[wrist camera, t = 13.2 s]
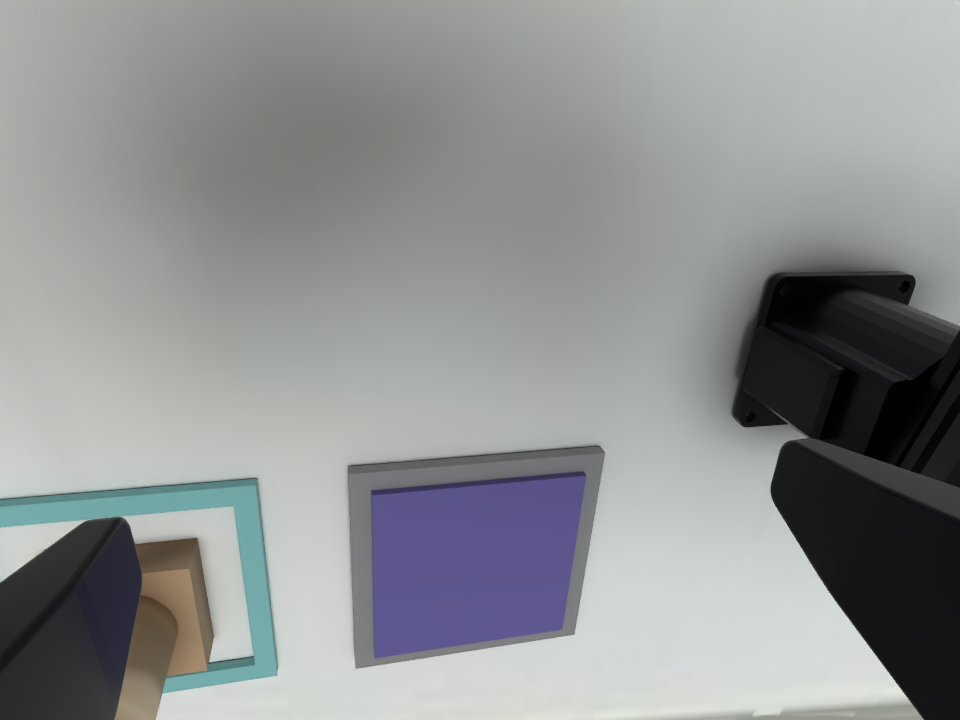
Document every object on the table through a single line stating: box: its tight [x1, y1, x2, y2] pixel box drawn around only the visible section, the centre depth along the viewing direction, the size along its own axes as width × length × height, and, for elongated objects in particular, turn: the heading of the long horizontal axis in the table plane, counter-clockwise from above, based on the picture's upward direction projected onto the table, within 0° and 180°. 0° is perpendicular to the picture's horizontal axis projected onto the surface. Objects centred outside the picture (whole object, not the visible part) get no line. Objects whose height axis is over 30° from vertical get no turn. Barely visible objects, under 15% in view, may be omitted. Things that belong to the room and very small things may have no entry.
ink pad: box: [348, 446, 605, 669], centre depth 25 cm, size 10×10×1 cm
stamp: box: [115, 538, 214, 720], centre depth 20 cm, size 5×5×7 cm
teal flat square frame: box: [0, 479, 278, 693], centre depth 22 cm, size 10×10×1 cm
